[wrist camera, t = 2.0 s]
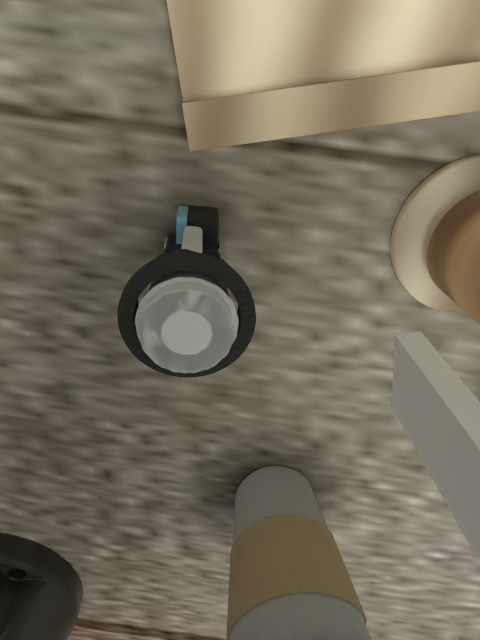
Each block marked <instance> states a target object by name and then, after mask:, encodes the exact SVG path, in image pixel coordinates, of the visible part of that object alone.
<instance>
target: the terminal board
mask: <svg viewBox="0 0 480 640" xmlns="http://www.w3.org/2000/svg"><path fill="white" fill-rule="evenodd" d="M166 1H167V7H168V13H169V19H170V25H171V31H172V38H173V44H174V50H175V56H176V62H177V68H178V74H179V80H180V86H181V92H182V98H183V103H182V108H183V114H184V120H185V126H186V132H187V138H188V144H189V150H190V152H191V151H198V150H205V149H212V148H219V147H226V146H233V145H241V144H248V143H255V142H262V141H269V140H276V139H283V138H290V137H298V136H305V135H312V134H319V133H326V132H333V131H340V130H347V129H355V128H362V127H369V126H376V125H383V124H390V123H397V122H405V121H412V120H419V119H426V118H433V117H440V116H447V115H454V114H462V113H469V112H476V111H480V0H166Z"/></svg>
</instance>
